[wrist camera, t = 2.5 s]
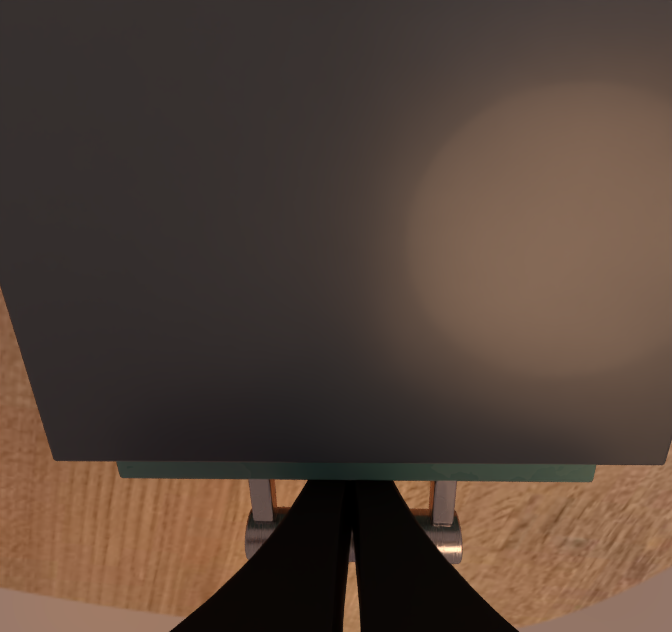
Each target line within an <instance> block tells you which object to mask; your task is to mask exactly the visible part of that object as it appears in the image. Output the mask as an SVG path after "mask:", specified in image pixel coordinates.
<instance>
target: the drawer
mask: <svg viewBox="0 0 672 632" xmlns="http://www.w3.org/2000/svg"><path fill="white" fill-rule="evenodd" d="M116 462H117V466H118V470H119V474H120V477H121V478H168V479H249V488H250V496H251V504H252V509H251V510H250V513H249V516H248V520H247V525H246V533H245V552H246V557H247V559H248V560H249V559H250V558H251V557H252V556H253V555H254V554H255V553H256V551H257V550H258V549H259V548H260V547H261V546H262V544H263V543H264V542H265V541H266V540H267V539H268V537H269V536H270V535H271V534H272V532H273V531H274V530H275V529H276V527H277V526H278V525H279V523H280V522H281V521H282V519H283V518H284V517H285V515H286V514H287V512H288V511H289V509H290V508H291V507H277V500H276V489H275V479H280V480H393V481H430V497H429V509H410V511H411V512H412V514H413V515H414V517H415V518H416V520H417V521H418V523H419V524H420V526H421V527H422V528H423V530H424V531H425V532H426V534H427V535H428V536H429V538H430V539H431V540H432V542H433V543H434V544H435V546H436V547H437V548H438V549H439V551H440V552H441V553H442V554H443V556H444V557H445V558H446V559H447V560H448V561H449V563H450V564H459V563H460V562H461V560H462V534H461V527H460V522H459V518H458V515H457V513H456V511H455V510H454V508H455V497H456V486H457V481H506V482H592V481H593V477H594V473H595V469H596V465H564V464H420V463H275V462H130V461H116ZM349 562H355V553H354V542H353V530H352V533H351V544H350V554H349Z"/></svg>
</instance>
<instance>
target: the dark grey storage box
mask: <svg viewBox="0 0 672 632" xmlns="http://www.w3.org/2000/svg"><path fill="white" fill-rule="evenodd" d="M0 286H1V290H2V293H3V296H4V299H5V303H6V306H7V309H8V312H9V316H10V319H11V322H12V325H13V329H14V332H15V335H16V338H17V342H18V345H19V348H20V351H21V355H22V358H23V361H24V364H25V368H26V371H27V374H28V377H29V381H30V384H31V387H32V391H33V394H34V397H35V400H36V404H37V407H38V410H39V413H40V417H41V420H42V423H43V426H44V430H45V433H46V436H47V439H48V443H49V446H50V449H51V452H52V456H53V459H54V460H55V461H130V462H275V463H420V464H564V465H664V464H665V461H666V458H667V454H668V451H669V447H670V444H671V441H672V0H0Z"/></svg>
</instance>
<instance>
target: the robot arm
mask: <svg viewBox="0 0 672 632" xmlns="http://www.w3.org/2000/svg"><path fill="white" fill-rule="evenodd" d="M352 530H353V542H354V553H355V564H356V575H357V586H358V597H359V608H360V626H361V632H519V631H518V630H517V629H515V628H514V627H513V626H512V625H511V624H510V623H509V622H507V621H506V620H505V619H504V618H503V617H502V616H501V615H500V614H499V613H497V612H496V611H495V610H494V609H493V608H492V607H491V606H490V605H489V604H488V603H487V602H486V601H485V600H484V599H483V598H482V597H481V596H480V595H479V594H478V593H477V592H476V591H475V590H474V589H473V588H472V587H471V586H470V585H469V584H468V582H467V581H466V580H465V579H464V578H463V577H462V576H461V575H460V574H459V573H458V571H457V570H456V569H455V568H454V567H453V566H452V565H451V564H450V563H449V561H448V560H447V559H446V558H445V557H444V556H443V554H442V553H441V552H440V551H439V549H438V548H437V547H436V546H435V544H434V543H433V542H432V540H431V539H430V538H429V536H428V535H427V534H426V532H425V531H424V530H423V528H422V527H421V526H420V524H419V523H418V521H417V520H416V518H415V517H414V515H413V514H412V512H411V511H410V509H409V507H408V506H407V504H406V503H405V501H404V499H403V498H402V496H401V494H400V492H399V491H398V489H397V487H396V485H395V483H394V481H393V480H308V481H307V482H306V484H305V486H304V488H303V489H302V491H301V492H300V494H299V496H298V497H297V499H296V500H295V502H294V503H293V505H292V506H291V508H290V509H289V511H288V512H287V514H286V515H285V517H284V518H283V519H282V521H281V522H280V523H279V525H278V526H277V527H276V529H275V530H274V531H273V532H272V534H271V535H270V536H269V537H268V539H267V540H266V541H265V542H264V543H263V544H262V546H261V547H260V548H259V549H258V550H257V551H256V553H255V554H254V555H253V556H252V557H251V558H250V559H249V560H248V561H247V563H246V564H245V565H244V566H243V567H242V568H241V569H240V570H239V571H238V572H237V573H236V574H235V575H234V576H233V577H232V578H231V579H229V580H228V581H227V582H226V583H225V584H224V585H223V586H222V587H221V588H220V589H219V590H218V591H217V592H216V593H215V594H214V595H213V596H212V597H211V598H209V599H208V600H207V601H206V602H205V603H204V604H202V605H201V606H200V607H199V608H198V609H196V610H195V611H194V612H193V613H192V614H190V615H189V616H188V617H187V618H186V619H184V620H183V621H182V622H181V623H180V624H178V625H177V626H176V627H175V628H173V630H171V631H170V632H343V617H344V604H345V594H346V584H347V574H348V564H349V554H350V544H351V533H352Z"/></svg>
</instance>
